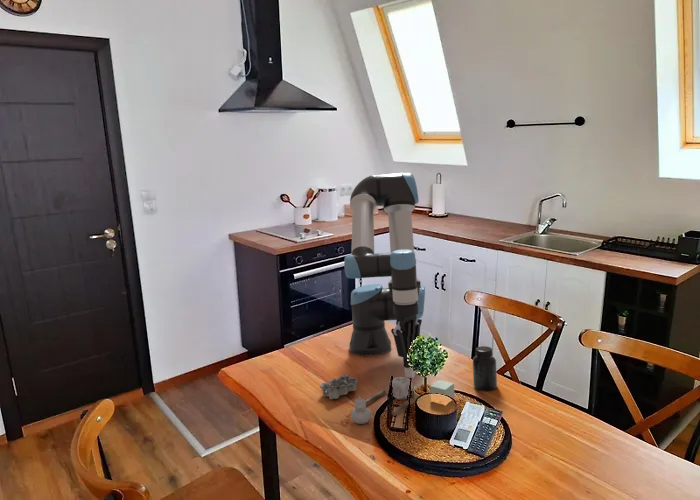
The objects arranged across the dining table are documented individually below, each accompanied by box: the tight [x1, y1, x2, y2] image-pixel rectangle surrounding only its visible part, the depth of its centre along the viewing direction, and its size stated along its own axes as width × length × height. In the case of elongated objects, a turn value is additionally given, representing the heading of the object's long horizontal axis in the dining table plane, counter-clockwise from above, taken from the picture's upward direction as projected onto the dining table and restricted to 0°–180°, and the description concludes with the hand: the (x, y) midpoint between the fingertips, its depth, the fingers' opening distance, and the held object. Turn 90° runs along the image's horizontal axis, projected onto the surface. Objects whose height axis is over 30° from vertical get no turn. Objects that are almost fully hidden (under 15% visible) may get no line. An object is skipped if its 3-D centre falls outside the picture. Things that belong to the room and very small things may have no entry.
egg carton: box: [319, 373, 359, 400], centre depth 153 cm, size 11×8×4 cm
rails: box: [364, 389, 416, 417], centre depth 144 cm, size 10×12×1 cm
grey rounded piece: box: [350, 394, 372, 425], centre depth 135 cm, size 5×7×8 cm
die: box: [391, 376, 414, 400], centre depth 149 cm, size 5×5×5 cm
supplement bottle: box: [472, 345, 498, 392], centre depth 150 cm, size 7×7×12 cm
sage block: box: [429, 379, 456, 401], centre depth 144 cm, size 5×5×5 cm
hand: (409, 376), depth 153 cm, fingers closed
